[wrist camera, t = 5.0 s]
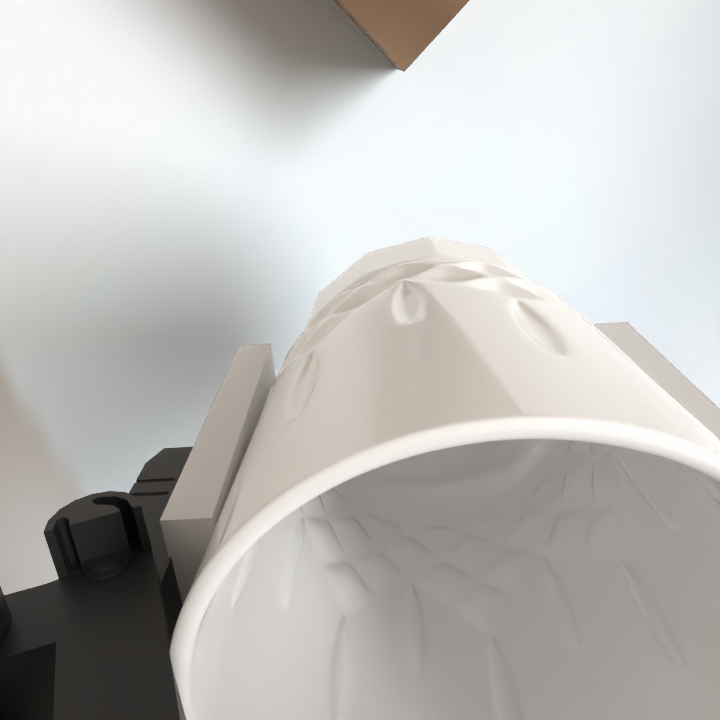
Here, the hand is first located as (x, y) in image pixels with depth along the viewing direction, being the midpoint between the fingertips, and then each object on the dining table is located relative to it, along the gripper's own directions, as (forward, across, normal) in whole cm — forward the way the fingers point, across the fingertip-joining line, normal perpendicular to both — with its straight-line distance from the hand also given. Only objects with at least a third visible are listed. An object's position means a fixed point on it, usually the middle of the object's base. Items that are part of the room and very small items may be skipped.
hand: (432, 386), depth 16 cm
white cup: (+1, 0, 0) cm, 1 cm away
